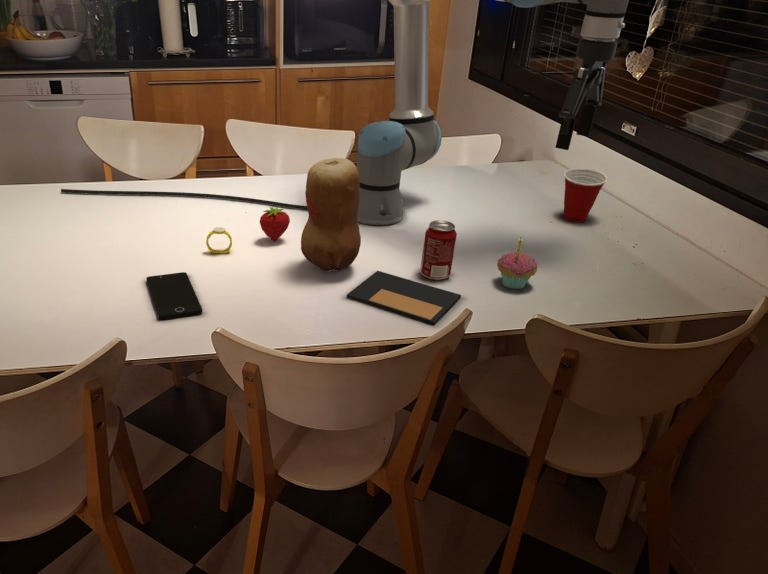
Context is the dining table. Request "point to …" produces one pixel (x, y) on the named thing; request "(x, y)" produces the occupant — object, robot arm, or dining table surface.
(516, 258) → the cupcake
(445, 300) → the mat
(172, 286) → the cell phone
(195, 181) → the dining table surface
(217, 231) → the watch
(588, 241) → the dining table surface
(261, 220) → the strawberry
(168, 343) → the dining table surface
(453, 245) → the soda can
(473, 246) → the dining table surface
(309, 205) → the butternut squash
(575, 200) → the plastic cup
